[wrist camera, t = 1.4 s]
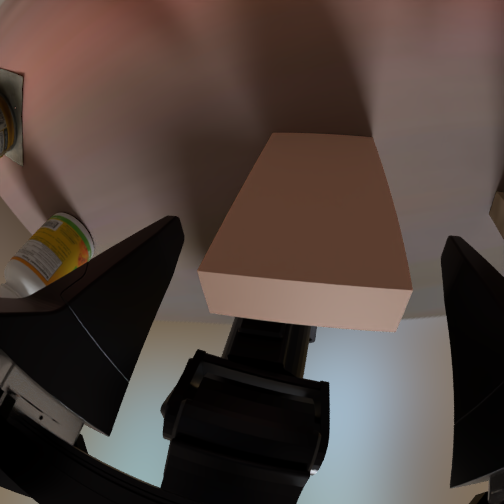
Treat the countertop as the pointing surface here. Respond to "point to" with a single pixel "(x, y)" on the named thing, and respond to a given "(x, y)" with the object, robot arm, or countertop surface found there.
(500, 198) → the domino
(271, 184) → the domino
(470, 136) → the countertop surface
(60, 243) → the supplement bottle
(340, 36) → the countertop surface
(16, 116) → the condiment
